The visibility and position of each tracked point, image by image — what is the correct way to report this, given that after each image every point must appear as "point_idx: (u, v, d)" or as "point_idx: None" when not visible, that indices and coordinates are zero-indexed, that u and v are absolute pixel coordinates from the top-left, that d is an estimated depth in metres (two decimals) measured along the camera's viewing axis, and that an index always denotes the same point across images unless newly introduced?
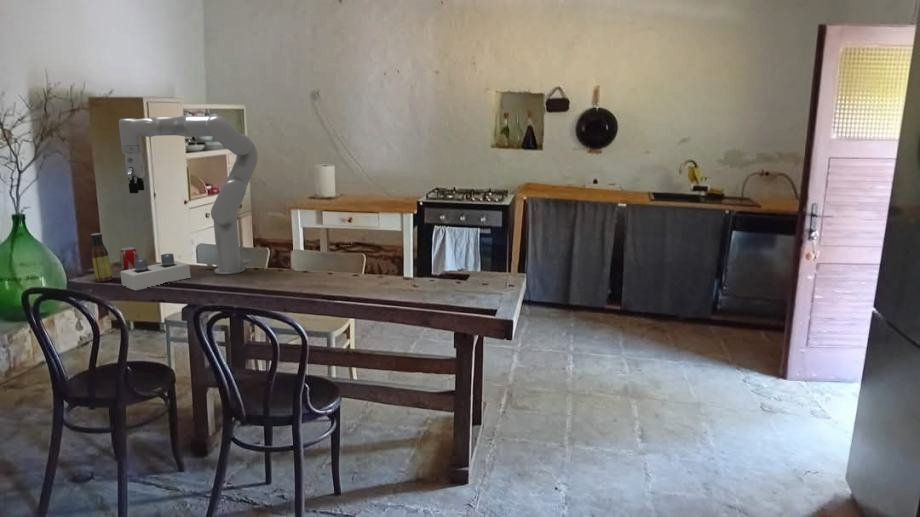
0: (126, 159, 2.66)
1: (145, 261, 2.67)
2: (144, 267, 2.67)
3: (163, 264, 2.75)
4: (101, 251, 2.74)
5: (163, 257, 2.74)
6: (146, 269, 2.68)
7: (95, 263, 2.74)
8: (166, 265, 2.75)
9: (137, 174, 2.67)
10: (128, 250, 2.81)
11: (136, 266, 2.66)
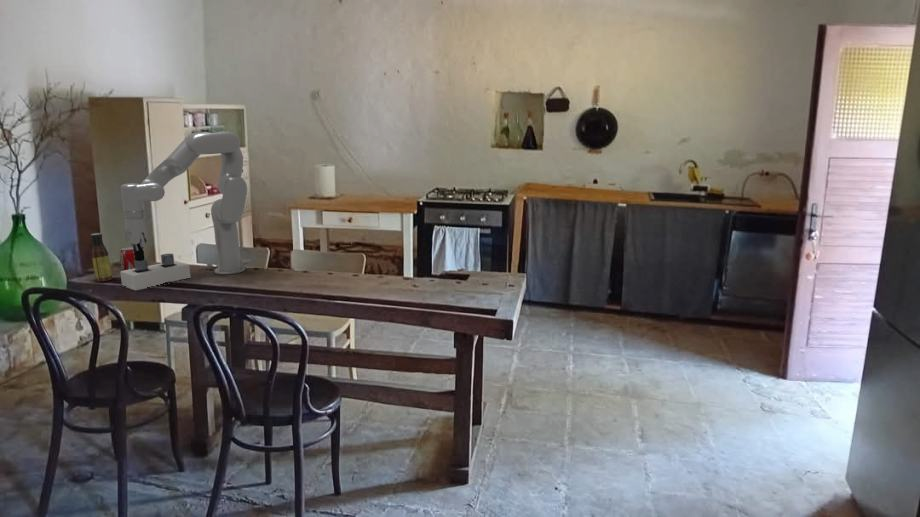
0: None
1: (145, 261, 2.67)
2: (144, 267, 2.67)
3: (163, 264, 2.75)
4: (101, 251, 2.74)
5: (163, 257, 2.74)
6: (146, 269, 2.68)
7: (95, 263, 2.74)
8: (166, 265, 2.75)
9: None
10: (128, 250, 2.81)
11: (136, 266, 2.66)
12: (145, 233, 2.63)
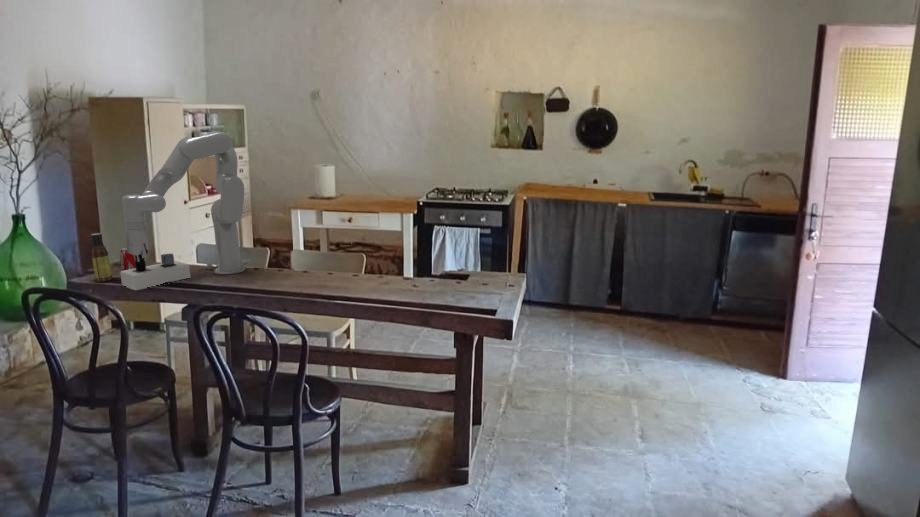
0: None
1: None
2: None
3: (163, 264, 2.75)
4: (101, 251, 2.74)
5: (163, 257, 2.74)
6: None
7: (95, 263, 2.74)
8: (166, 265, 2.75)
9: None
10: None
11: None
12: (146, 244, 2.64)
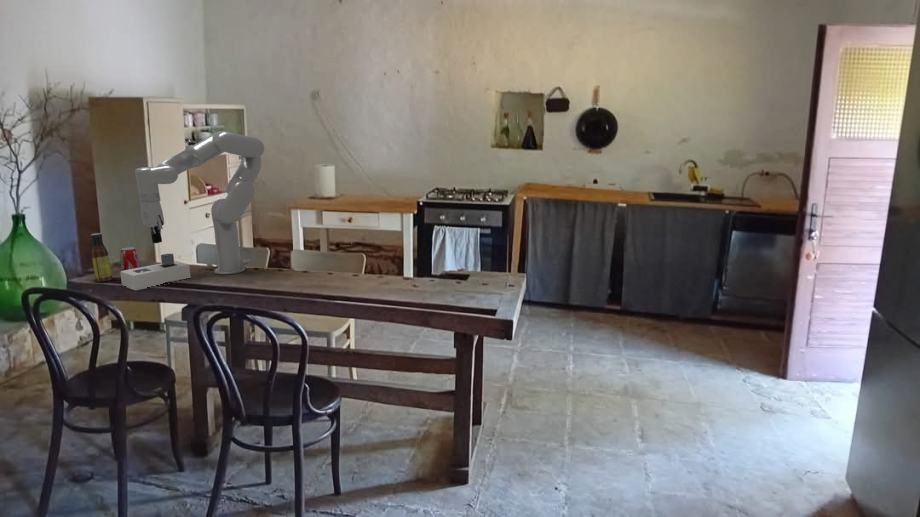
0: None
1: None
2: None
3: (163, 264, 2.75)
4: (101, 251, 2.74)
5: (163, 257, 2.74)
6: None
7: (95, 263, 2.74)
8: (166, 265, 2.75)
9: None
10: (128, 250, 2.81)
11: None
12: (161, 216, 2.67)
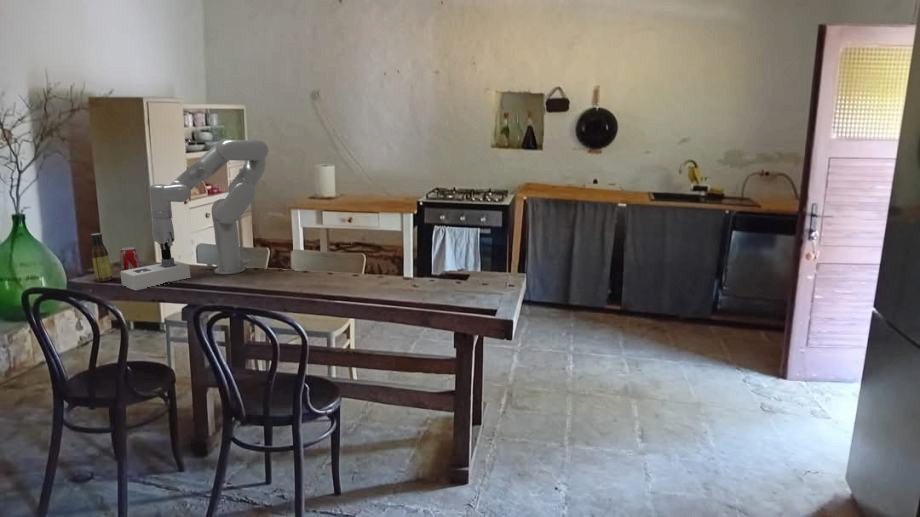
0: None
1: None
2: None
3: None
4: (101, 251, 2.74)
5: (163, 261, 2.74)
6: None
7: (95, 263, 2.74)
8: None
9: None
10: (128, 250, 2.81)
11: None
12: (172, 233, 2.72)
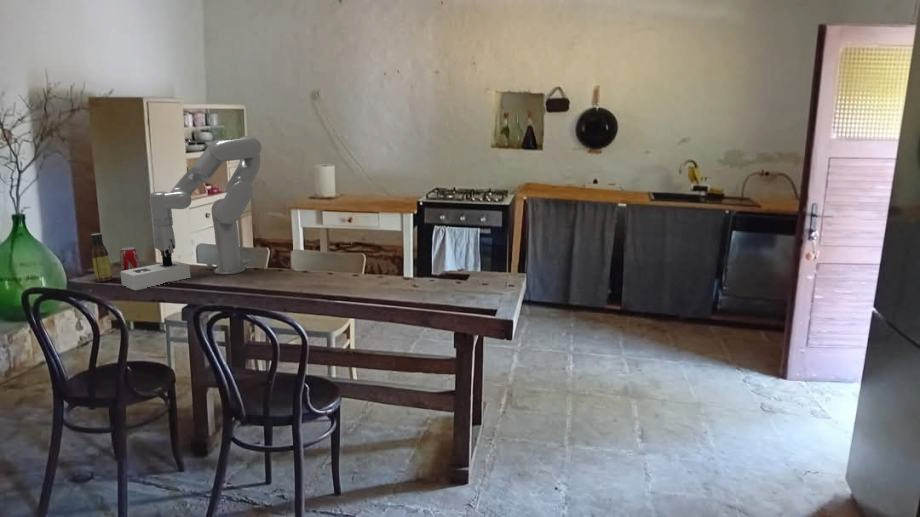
0: None
1: None
2: None
3: None
4: (101, 251, 2.74)
5: None
6: None
7: (95, 263, 2.74)
8: None
9: None
10: (128, 250, 2.81)
11: None
12: (173, 240, 2.72)
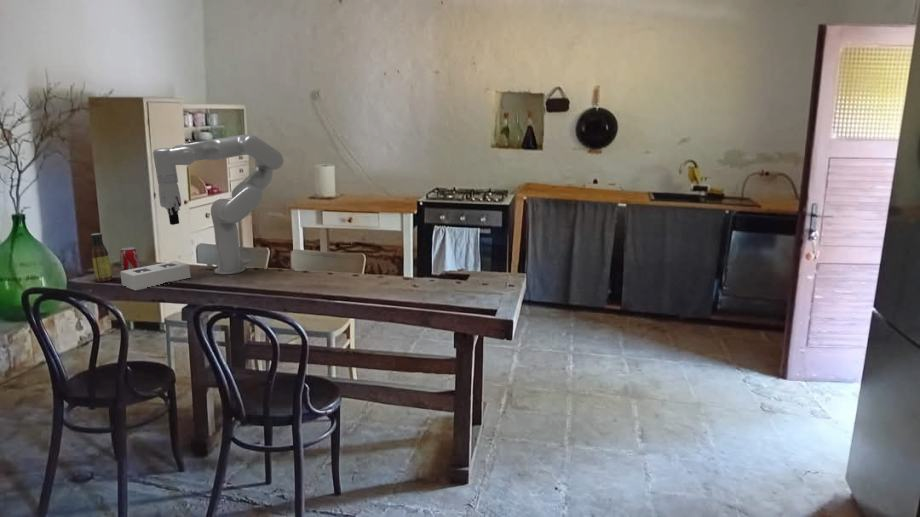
0: None
1: None
2: None
3: None
4: (101, 251, 2.74)
5: None
6: None
7: (95, 263, 2.74)
8: None
9: None
10: (128, 250, 2.81)
11: None
12: (179, 197, 2.67)
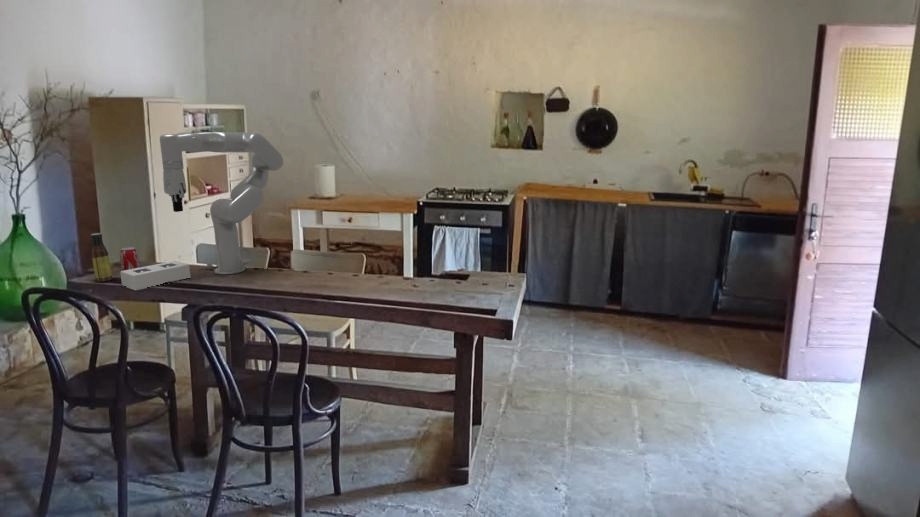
0: None
1: None
2: None
3: None
4: (101, 251, 2.74)
5: None
6: None
7: (95, 263, 2.74)
8: None
9: None
10: (128, 250, 2.81)
11: None
12: (184, 184, 2.64)
